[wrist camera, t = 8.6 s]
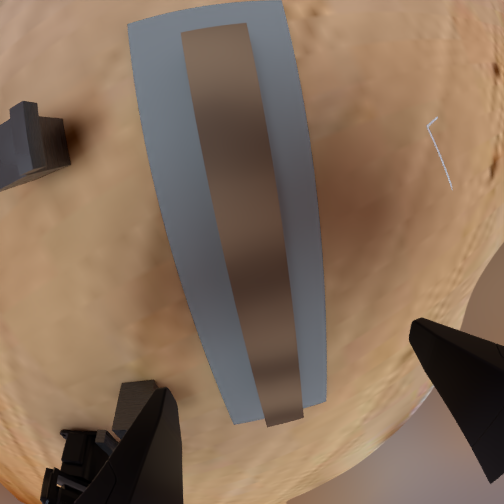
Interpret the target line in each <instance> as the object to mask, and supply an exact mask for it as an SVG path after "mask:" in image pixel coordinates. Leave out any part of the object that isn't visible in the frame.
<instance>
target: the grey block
mask: <svg viewBox="0 0 504 504" xmlns="http://www.w3.org/2000/svg"><path fill="white" fill-rule="evenodd" d="M69 165H71V163H70V159H69V154H68V149H67V144H66V138H65V132H64V126H63V120H62V119H60V118H50V117H40V116H39V115H38V106H37V103H34V102H27V101H22V102H20V103H19V104H17V105H15V106H14V107H12V108H11V109H10V119H9V120H7V121H6V122H4V123H3V124H1V125H0V192H1V191H4V190H6V189H9V188H12V187H15V186H18V185H21V184H24V183H27V182H30V181H33V180H36V179H38V178H41V177H43V176H45V175H47V174H50V173H52V172H54V171H57V170H59V169H61V168H64V167H66V166H69Z"/></svg>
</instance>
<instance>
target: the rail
mask: <svg viewBox="0 0 504 504" xmlns="http://www.w3.org/2000/svg"><path fill="white" fill-rule="evenodd" d="M181 39H182V45H183V51H184V57H185V63H186V69H187V75H188V80H189V86H190V92H191V97H192V103H193V108H194V114H195V119H196V124H197V129H198V135H199V140H200V145H201V150H202V155H203V160H204V165H205V170H206V175H207V180H208V185H209V189H210V194H211V199H212V204H213V208H214V213H215V217H216V222H217V227H218V231H219V236H220V240H221V245H222V249H223V254H224V258H225V262H226V267H227V271H228V275H229V280H230V284H231V288H232V292H233V297H234V301H235V305H236V309H237V313H238V317H239V321H240V325H241V329H242V333H243V337H244V341H245V345H246V349H247V353H248V357H249V361H250V365H251V369H252V373H253V377H254V380H255V384H256V388H257V392H258V395H259V399H260V403H261V407H262V410H263V414H264V418H265V421H266V425H267V427H270V426H274V425H278V424H282V423H286V422H290V421H294V420H297V419H301V418H304V416H303V403H302V392H301V381H300V370H299V360H298V350H297V340H296V331H295V322H294V313H293V304H292V296H291V288H290V280H289V272H288V264H287V256H286V249H285V241H284V234H283V227H282V220H281V213H280V206H279V200H278V193H277V186H276V180H275V174H274V167H273V161H272V155H271V149H270V143H269V137H268V131H267V126H266V120H265V114H264V109H263V103H262V98H261V92H260V87H259V82H258V77H257V71H256V66H255V61H254V56H253V51H252V46H251V42H250V37H249V32H248V27H247V23H239V24H230V25H221V26H214V27H208V28H202V29H196V30H191V31H186V32H181Z"/></svg>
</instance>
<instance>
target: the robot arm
mask: <svg viewBox="0 0 504 504" xmlns="http://www.w3.org/2000/svg"><path fill="white" fill-rule="evenodd" d="M409 342H410V344H411V346H412V348H413V350H414V351H415V353H416V355H417V357H418V359H419V361H420V363H421V365H422V367H423V369H424V370H425V372H426V374H427V375H428V377H429V379H430V380H431V382H432V383H433V385H434V386H435V388H436V389H437V391H438V392H439V394H440V396H441V397H442V399H443V400H444V402H445V404H446V405H447V407H448V408H449V410H450V412H451V413H452V415H453V417H454V418H455V420H456V422H457V423H458V425H459V427H460V429H461V430H462V432H463V434H464V436H465V437H466V439H467V441H468V443H469V444H470V446H471V447H472V450H473V452H474V454H475V456H476V458H477V459H478V461H479V463H480V465H481V466H482V469H483V471H484V473H485V475H486V477H487V479H488V481H489V482H490V484H491V483H493V482H494V481H495V480H496V479H498V478H499V477H500V476H501V475H502V474H503V473H504V346H502V345H499V344H495V343H493V342H490V341H488V340H485V339H482V338H479V337H476V336H473V335H470V334H468V333H465V332H462V331H459V330H456V329H453V328H450V327H448V326H445V325H442V324H439V323H436V322H433V321H431V320H428V319H425V318H418V319H416V320H414V321H413V322H412V324H411V329H410V334H409ZM60 434H61V435H62V436H63V437H64V438H65V439H66V443H65V447H64V451H63V454H62V458H61V460H62V466H61V470H59V469H57V468H55V467H54V469H49V468H46V471H45V475H44V479H43V484H42V490H41V497H40V500H41V502H42V504H183V478H182V441H181V433H180V425H179V416H178V407H177V403H176V400H175V399H174V397H173V395H172V394H171V392H170V390H169V389H168V388H167V387H162V388H156V389H155V390H154V392H153V393H152V395H151V396H150V398H149V399H148V401H147V402H146V404H145V405H144V407H143V408H142V410H141V411H140V412H139V414H138V415H137V417H136V418H135V420H134V421H133V423H132V424H131V426H130V427H129V429H128V430H127V432H126V433H125V435H124V436H123V438H122V439H121V441H120V442H119V444H118V445H117V447H116V448H115V450H114V451H113V453H112V454H111V456H109V455H108V454H107V453H106V452H105V451H104V450H102V449H101V448H100V447H99V446H98V445H97V444H96V443H95V439H96V435H97V432H80V431H65V430H61V432H60ZM57 484H58V485H61V488H60V487H58V486H57Z"/></svg>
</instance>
